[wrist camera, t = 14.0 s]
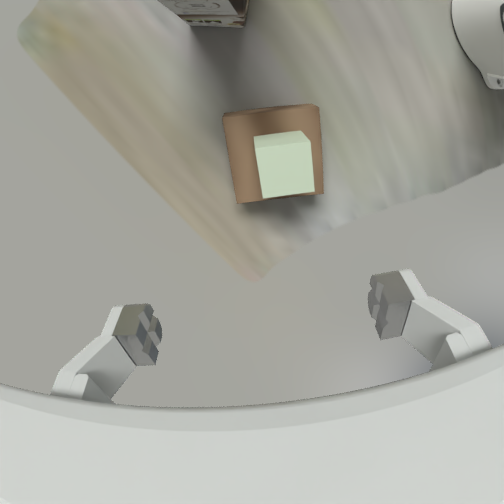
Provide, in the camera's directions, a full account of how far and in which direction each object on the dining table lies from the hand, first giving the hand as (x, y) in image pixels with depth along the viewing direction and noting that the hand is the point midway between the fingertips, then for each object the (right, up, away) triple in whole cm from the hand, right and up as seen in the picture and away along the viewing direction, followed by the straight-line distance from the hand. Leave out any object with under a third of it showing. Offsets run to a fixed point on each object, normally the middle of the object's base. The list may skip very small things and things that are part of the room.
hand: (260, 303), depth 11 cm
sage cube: (+3, +12, +20) cm, 24 cm away
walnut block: (+2, +14, +24) cm, 28 cm away
